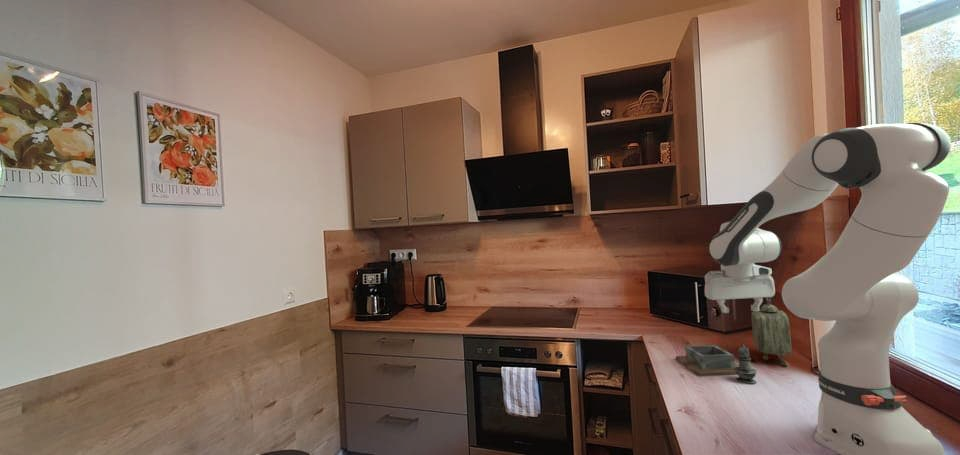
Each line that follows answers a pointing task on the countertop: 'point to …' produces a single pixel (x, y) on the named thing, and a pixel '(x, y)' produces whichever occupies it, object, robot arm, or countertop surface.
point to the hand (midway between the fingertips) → (740, 311)
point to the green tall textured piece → (771, 331)
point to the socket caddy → (708, 360)
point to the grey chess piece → (745, 367)
